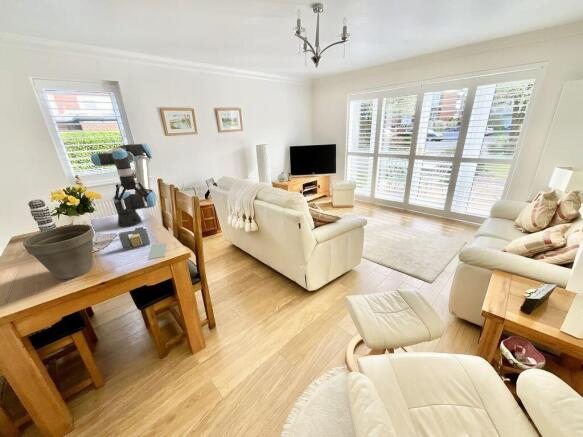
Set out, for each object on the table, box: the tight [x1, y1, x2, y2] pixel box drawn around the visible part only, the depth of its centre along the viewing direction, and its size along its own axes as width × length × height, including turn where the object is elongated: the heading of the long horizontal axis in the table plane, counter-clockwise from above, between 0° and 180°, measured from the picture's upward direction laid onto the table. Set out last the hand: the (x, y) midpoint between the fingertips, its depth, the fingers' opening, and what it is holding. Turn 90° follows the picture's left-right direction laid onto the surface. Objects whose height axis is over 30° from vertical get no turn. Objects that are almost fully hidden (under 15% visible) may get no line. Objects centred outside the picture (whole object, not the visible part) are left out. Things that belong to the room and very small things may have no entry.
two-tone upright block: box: [129, 226, 144, 247], centre depth 153 cm, size 16×4×6 cm, turn 22°
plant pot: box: [22, 223, 95, 280], centre depth 119 cm, size 25×25×22 cm
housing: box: [118, 228, 151, 250], centre depth 145 cm, size 3×14×10 cm, turn 112°
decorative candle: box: [27, 199, 57, 233], centre depth 163 cm, size 9×9×25 cm
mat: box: [148, 242, 168, 261], centre depth 141 cm, size 18×8×1 cm, turn 22°
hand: (135, 207), depth 159 cm, fingers open, 12 cm apart
